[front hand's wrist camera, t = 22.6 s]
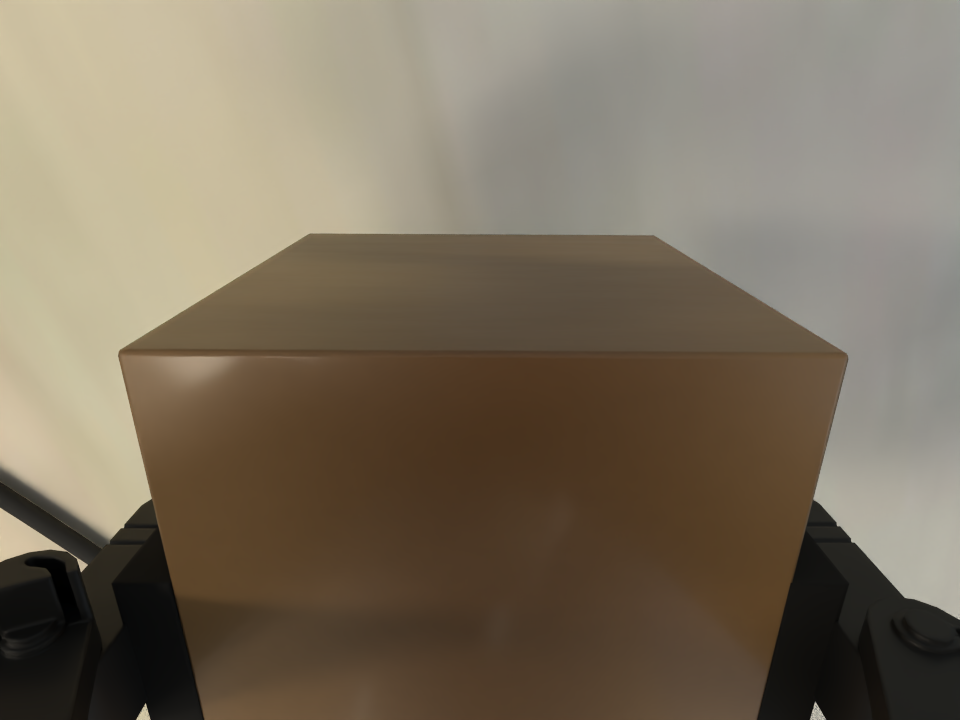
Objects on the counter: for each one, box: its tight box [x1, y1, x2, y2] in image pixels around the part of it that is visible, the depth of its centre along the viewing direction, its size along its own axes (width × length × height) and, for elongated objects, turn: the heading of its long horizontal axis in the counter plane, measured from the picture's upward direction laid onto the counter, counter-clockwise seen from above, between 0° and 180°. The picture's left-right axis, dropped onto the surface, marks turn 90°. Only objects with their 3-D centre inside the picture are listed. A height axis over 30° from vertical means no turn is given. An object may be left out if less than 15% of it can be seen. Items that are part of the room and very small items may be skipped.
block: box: [118, 234, 848, 720], centre depth 12 cm, size 8×9×8 cm
